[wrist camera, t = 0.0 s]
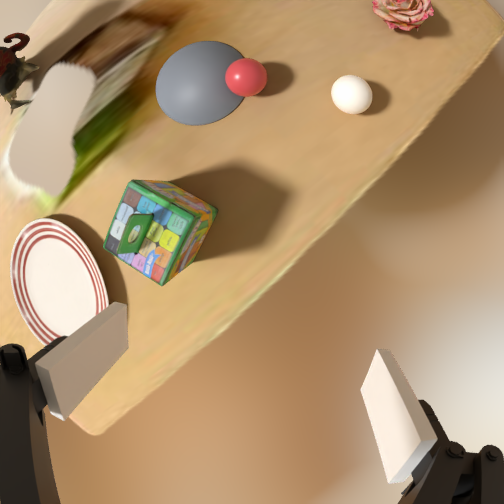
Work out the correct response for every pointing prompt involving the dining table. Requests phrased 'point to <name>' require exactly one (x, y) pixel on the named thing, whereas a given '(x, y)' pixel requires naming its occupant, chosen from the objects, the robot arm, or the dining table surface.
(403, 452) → the robot arm
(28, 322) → the dinner plate
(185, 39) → the dining table surface
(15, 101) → the stuffed monkey
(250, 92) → the red ball
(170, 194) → the chalk box
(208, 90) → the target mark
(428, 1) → the flower
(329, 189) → the dining table surface
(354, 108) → the cue ball
